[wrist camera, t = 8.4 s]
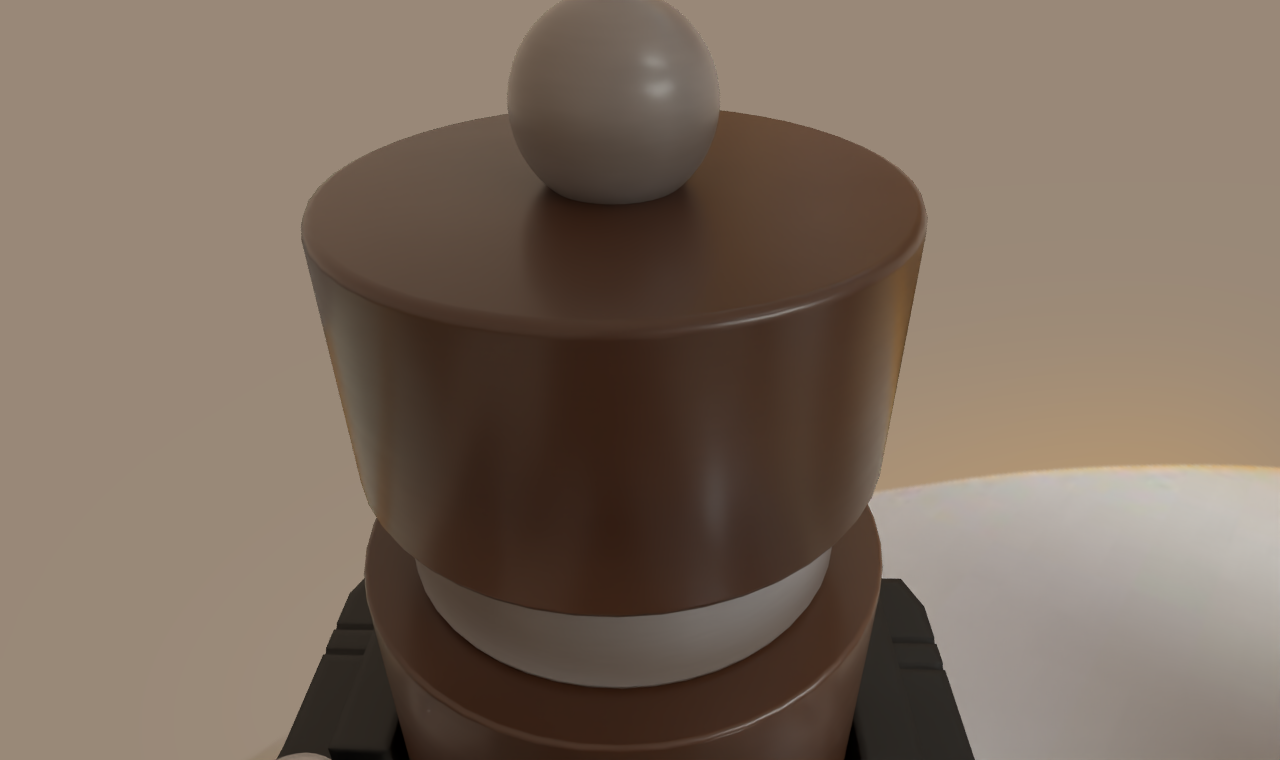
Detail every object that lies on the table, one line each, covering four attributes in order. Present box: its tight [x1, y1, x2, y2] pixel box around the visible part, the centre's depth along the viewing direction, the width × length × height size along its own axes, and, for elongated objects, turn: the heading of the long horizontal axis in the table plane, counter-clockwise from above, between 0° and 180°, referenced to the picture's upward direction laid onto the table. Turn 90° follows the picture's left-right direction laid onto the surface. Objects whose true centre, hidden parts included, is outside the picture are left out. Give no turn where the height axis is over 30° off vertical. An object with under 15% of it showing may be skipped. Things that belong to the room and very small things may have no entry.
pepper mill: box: [301, 0, 928, 760], centre depth 11 cm, size 5×5×18 cm
